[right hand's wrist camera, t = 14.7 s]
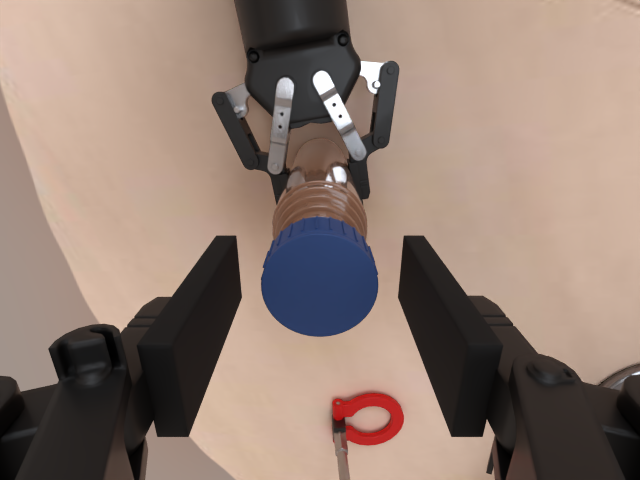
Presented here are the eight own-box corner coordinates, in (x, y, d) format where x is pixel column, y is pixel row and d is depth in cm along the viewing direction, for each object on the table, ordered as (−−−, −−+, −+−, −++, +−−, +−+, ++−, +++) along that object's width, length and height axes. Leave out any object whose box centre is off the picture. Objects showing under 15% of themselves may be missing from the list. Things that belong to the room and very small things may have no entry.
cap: (272, 313, 15) (266, 340, 14) (261, 217, 14) (252, 235, 12) (372, 308, 15) (379, 335, 14) (372, 212, 14) (380, 229, 12)
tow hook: (403, 388, 47) (331, 392, 46) (439, 491, 35) (341, 497, 34) (399, 436, 50) (331, 440, 49) (430, 545, 38) (341, 551, 37)
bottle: (305, 130, 35) (278, 197, 12) (352, 149, 35) (409, 247, 13) (288, 177, 36) (236, 312, 14) (333, 194, 37) (353, 351, 14)
